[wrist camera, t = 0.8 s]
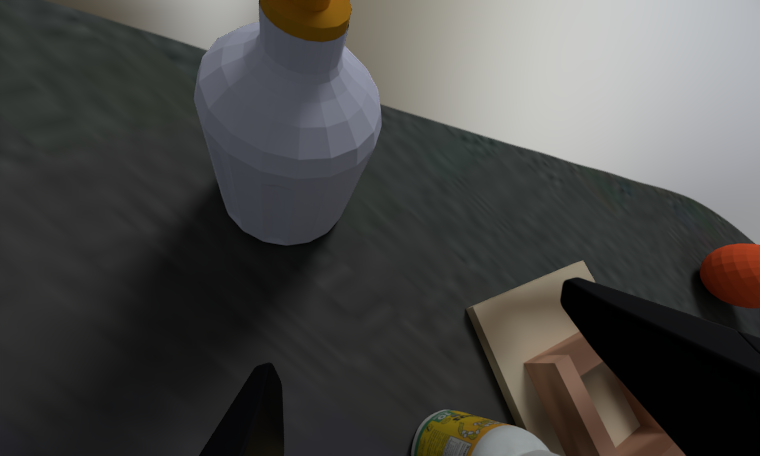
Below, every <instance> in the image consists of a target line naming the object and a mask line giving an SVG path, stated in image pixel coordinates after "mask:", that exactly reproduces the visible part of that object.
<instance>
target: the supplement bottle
mask: <svg viewBox="0 0 760 456" xmlns="http://www.w3.org/2000/svg"><path fill="white" fill-rule="evenodd" d="M411 456H560V455H557V454H555V453H552V452H550V451H549V449H548V448H547V447H546V446H545V445H544V444H543V443H542V442H541V441H540V440H539V439H538V438H537V437H536V436H535V435H533V434H532V433H530V432H528V431H526V430H524V429H522V428H520V427H517V426H513V425H509V424H505V423H501V422H497V421H493V420H489V419H485V418H482V417H477V416H474V415H470V414H466V413H462V412H458V411H454V410H442V411H439V412H436V413H434V414H432V415H430V416H429V417H427V418H426V419H425V420H424V421H423V422H422V424H421V425H420V426H419V428H418V429H417V432H416V434H415V437H414V440H413V445H412V451H411Z"/></svg>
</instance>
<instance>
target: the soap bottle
mask: <svg viewBox="0 0 760 456" xmlns="http://www.w3.org/2000/svg"><path fill="white" fill-rule="evenodd" d="M351 11H352V8H351V4H350V0H259V22H255V23H251V24H248V25H245V26H242V27H240V28H238V29H236V30H234V31H232V32H230V33H228V34H226V35H224V36H222V37H220V38H218V39H217V40H216V41H215V43H214V44H213V45H212V46H211V47H210V49H209V50H208V51H207V52H206V54H205V55H204V56H203V57H202V61H201V64H200V67H199V71H198V75H197V82H196V88H195V94H194V102H195V105H196V109H197V112H198V115H199V119H200V122H201V126H202V129H203V133H204V136H205V140H206V143H207V147H208V150H209V154H210V157H211V161H212V164H213V167H214V171H215V174H216V178H217V181H218V185H219V188H220V192H221V195H222V198H223V201H224V204H225V207H226V210H227V212H228V215H229V216H230V217H231V218H232V219H233V220H234V221H235V222H236V224H237V225H238V226H239V227H240V228H241V229H242V230H243V231H244V232H246V233H248V234H250V235H252V236H254V237H256V238H257V239H259V240H261V241H263V242H268V243H274V244H280V245H286V246H288V245H295V244H301V243H308V242H311V241H313V240H314V239H316V238H318V237H320V236H322V235H324V234H326V233H328V231H329V230H330V229H331V228H332V227H333V226H334V225H335V223H336V222H337V221H338V220H339V219H340V217H341V215H342V213H343V211H344V209H345V207H346V205H347V203H348V201H349V199H350V197H351V195H352V193H353V191H354V189H355V186H356V184H357V182H358V180H359V178H360V176H361V174H362V172H363V170H364V168H365V166H366V164H367V162H368V160H369V158H370V156H371V154H372V152H373V150H374V147H375V144H376V141H377V138H378V135H379V132H380V129H381V109H380V101H379V93H378V89H377V87H376V85H375V83H374V81H373V79H372V78H371V76H370V74H369V72H368V70H367V69H366V67H365V66H364V65H363V64H362V63H361V62H360V61H359V60H358V59H357V58H356V57H355V56H354V55H353V54H352V53H351V52H350V51H349V50H348V49H347V48H346V47H345V46H344V44H345V40H346V36H347V31H348V27H349V19H350V15H351Z"/></svg>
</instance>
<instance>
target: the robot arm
mask: <svg viewBox="0 0 760 456" xmlns="http://www.w3.org/2000/svg"><path fill="white" fill-rule="evenodd" d="M560 303H561V306H562V308H563V309H564V311H565V312H566V313H567V315H568V316H569V317H570V319H571V320H572V322H573V323H574V324H575V326H576V327H577V328H578V330H579V331H580V333H581V334H582V335H583V337H584V338H585V339H586V341H587V342H588V344H589V345H590V346H591V347H592V349H593V350H594V351H595V352H596V354H597V355H598V356H599V357H600V358H601V360H602V361H603V362H604V363H605V364H606V365H607V366H608V367H609V369H610V370H611V371H612V372H613V373H614V374H615V375H616V377H617V378H618V379H619V380H620V381H621V382H622V383H623V385H624V386H625V387H626V388H627V389H628V390H629V391H630V393H631V394H632V395H633V396H634V397H635V398H636V399H637V401H638V402H639V403H640V404H641V405H642V406H643V407H644V409H645V410H646V411H647V412H648V413H649V414H650V415H651V417H652V418H653V419H654V420H655V421H656V422H657V423H658V425H659V426H660V427H661V428H662V429H663V430H664V431H665V433H666V434H667V435H668V436H669V437H670V438H671V439H672V441H673V442H674V443H675V444H676V445H677V446H678V447H679V448H680V450H681V451H682V452H683V453H684V454H685V455H686V456H760V338H759V337H756V336H753V335H750V334H747V333H744V332H741V331H736V330H735V329H732V328H729V327H726V326H723V325H720V324H717V323H714V322H711V321H708V320H705V319H702V318H699V317H696V316H693V315H690V314H687V313H684V312H681V311H678V310H675V309H672V308H669V307H666V306H663V305H660V304H657V303H654V302H651V301H648V300H645V299H642V298H639V297H636V296H633V295H630V294H627V293H624V292H621V291H618V290H615V289H612V288H609V287H606V286H603V285H600V284H597V283H594V282H592V281H589V280H586V279H583V278H579V277H574V278H571V279H567V280H565V281H564V282H563V285H562V291H561V297H560ZM199 456H284V424H283V397H282V384H281V381H280V378H279V376H278V374H277V372H276V370H275V368H274V366H273V364H272V363H266V364H262V365H259V366H256V367H255V368H254V370H253V371H252V373H251V375H250V376H249V378H248V379H247V381H246V382H245V384H244V386H243V387H242V389H241V390H240V392H239V393H238V395H237V397H236V398H235V400H234V401H233V403H232V404H231V406H230V408H229V409H228V411H227V412H226V414H225V415H224V417H223V419H222V420H221V422H220V423H219V425H218V427H217V428H216V430H215V431H214V433H213V434H212V436H211V438H210V439H209V441H208V442H207V444H206V445H205V447H204V449H203V450H202V452H201V453H200V455H199Z"/></svg>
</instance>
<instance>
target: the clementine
mask: <svg viewBox="0 0 760 456" xmlns="http://www.w3.org/2000/svg"><path fill="white" fill-rule="evenodd" d="M700 277H701V280H702V282H703V284H704V286H705V287H706V289H707V290H708V291H709V292H710V293H711V294H713V295H714V296H715V297H717V298H718V299H720V300H722V301H724V302H727V303H729V304H732V305H735V306H739V307H745V308H760V245H757V244H732V245H727V246H724V247H721V248H719V249H716V250H715V251H713V252H712V253H710V254H709V255H707V257H706V258H705V259H704V261H703V262H702V264H701V268H700Z"/></svg>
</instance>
